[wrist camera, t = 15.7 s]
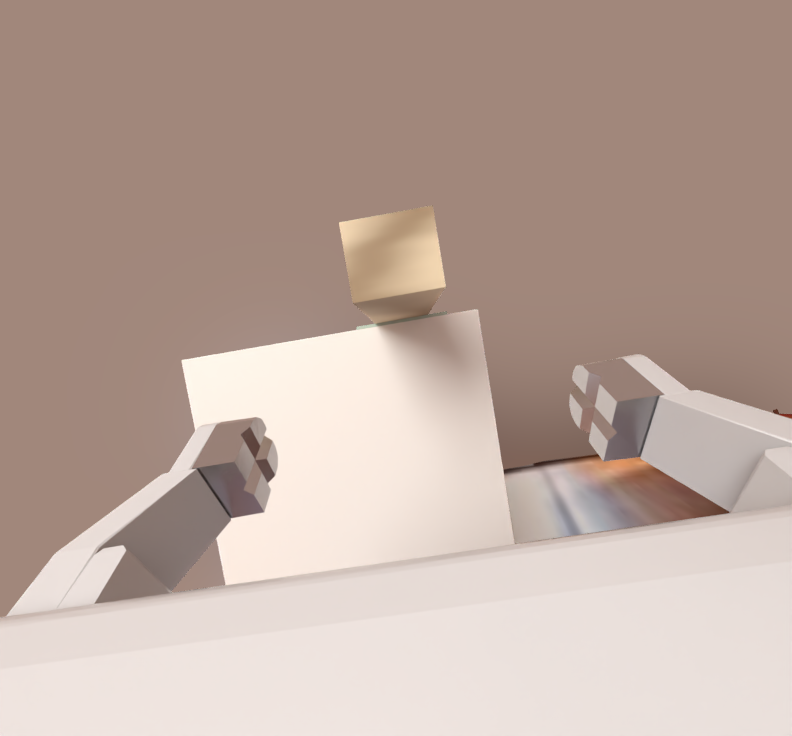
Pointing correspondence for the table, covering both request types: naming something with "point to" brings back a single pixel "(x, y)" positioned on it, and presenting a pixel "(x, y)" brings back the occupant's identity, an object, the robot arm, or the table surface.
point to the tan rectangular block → (394, 264)
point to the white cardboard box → (363, 446)
